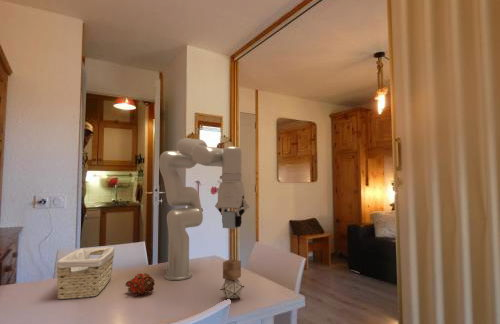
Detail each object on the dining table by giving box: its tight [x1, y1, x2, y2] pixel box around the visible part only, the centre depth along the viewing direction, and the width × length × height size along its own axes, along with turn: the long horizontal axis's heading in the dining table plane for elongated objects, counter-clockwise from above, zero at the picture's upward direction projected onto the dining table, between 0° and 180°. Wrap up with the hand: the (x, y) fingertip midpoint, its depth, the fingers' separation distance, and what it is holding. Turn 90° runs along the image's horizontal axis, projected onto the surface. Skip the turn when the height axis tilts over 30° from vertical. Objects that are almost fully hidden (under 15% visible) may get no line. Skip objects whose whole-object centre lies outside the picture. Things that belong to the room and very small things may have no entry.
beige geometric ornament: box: [219, 278, 245, 300], centre depth 110 cm, size 9×8×10 cm
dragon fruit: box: [125, 272, 156, 297], centre depth 116 cm, size 8×8×12 cm
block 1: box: [222, 210, 241, 230], centre depth 112 cm, size 5×5×6 cm
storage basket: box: [56, 246, 115, 300], centre depth 122 cm, size 24×16×15 cm
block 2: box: [222, 258, 242, 280], centre depth 111 cm, size 5×5×6 cm
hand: (231, 225), depth 112 cm, fingers closed on block 1, 5 cm apart
